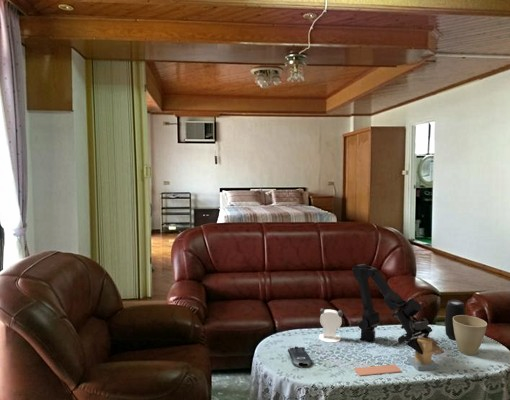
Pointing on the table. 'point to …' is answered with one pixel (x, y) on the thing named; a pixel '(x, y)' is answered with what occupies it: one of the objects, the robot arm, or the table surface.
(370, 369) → the terracotta mat
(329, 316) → the panda figurine
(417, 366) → the slate ledge
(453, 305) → the portable speaker
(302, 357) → the electronic device
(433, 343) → the wooden fragment
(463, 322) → the plant pot
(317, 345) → the table surface
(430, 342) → the oak block
